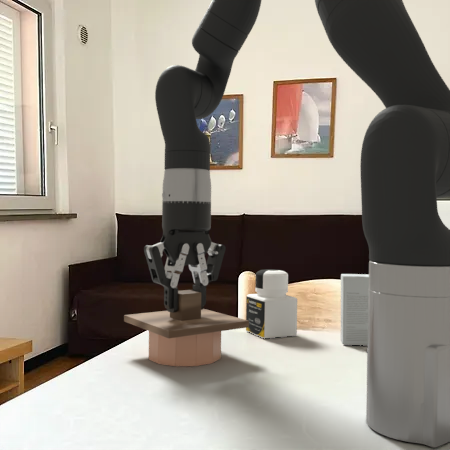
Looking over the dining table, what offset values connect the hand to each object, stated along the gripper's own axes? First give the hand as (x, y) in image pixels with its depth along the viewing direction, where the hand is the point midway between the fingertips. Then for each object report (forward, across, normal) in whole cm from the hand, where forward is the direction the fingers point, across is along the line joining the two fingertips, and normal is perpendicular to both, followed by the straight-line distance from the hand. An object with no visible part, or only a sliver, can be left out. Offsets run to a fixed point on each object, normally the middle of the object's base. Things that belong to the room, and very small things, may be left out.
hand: (185, 309), depth 83 cm
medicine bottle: (+7, +22, +5) cm, 24 cm away
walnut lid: (+2, 0, 0) cm, 2 cm away
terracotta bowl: (+7, 0, 0) cm, 7 cm away
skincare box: (+7, +30, -9) cm, 32 cm away
